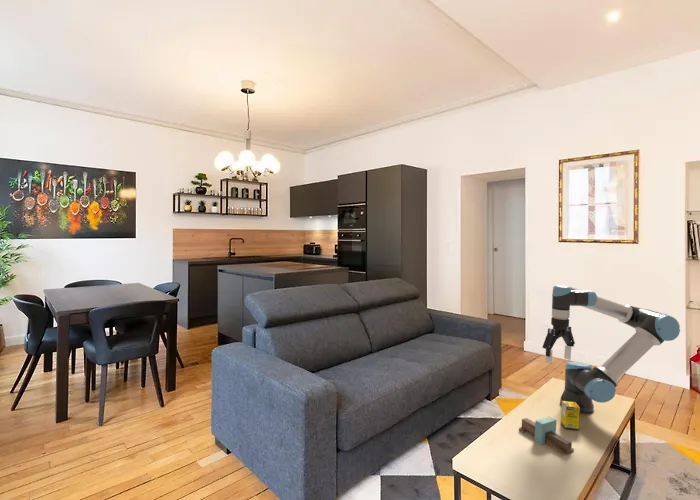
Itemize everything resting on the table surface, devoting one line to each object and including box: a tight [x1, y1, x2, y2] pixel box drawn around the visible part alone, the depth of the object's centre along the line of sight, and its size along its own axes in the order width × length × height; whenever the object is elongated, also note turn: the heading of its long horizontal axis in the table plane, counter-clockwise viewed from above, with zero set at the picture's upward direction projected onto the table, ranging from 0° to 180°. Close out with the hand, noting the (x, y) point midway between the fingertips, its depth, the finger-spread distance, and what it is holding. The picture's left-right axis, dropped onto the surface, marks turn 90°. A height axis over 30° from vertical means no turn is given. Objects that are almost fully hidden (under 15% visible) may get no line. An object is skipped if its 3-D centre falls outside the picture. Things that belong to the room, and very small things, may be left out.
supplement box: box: [560, 401, 581, 431], centre depth 179 cm, size 6×6×11 cm
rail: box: [518, 417, 575, 456], centre depth 167 cm, size 7×22×4 cm, turn 26°
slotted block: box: [534, 415, 557, 445], centre depth 167 cm, size 9×4×9 cm, turn 116°
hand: (558, 360), depth 185 cm, fingers open, 13 cm apart
